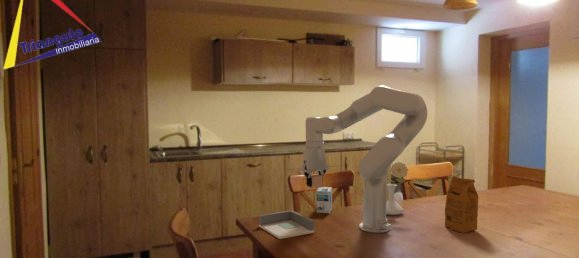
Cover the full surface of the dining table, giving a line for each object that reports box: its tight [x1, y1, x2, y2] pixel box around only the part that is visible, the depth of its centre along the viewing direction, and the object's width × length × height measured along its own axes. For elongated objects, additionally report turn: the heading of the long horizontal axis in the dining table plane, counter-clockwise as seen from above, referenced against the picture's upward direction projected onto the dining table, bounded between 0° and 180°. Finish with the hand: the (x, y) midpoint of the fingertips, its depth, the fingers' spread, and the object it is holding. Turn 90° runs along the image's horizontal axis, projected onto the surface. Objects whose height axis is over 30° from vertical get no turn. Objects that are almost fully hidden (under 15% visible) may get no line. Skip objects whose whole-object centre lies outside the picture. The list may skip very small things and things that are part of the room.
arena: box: [258, 209, 315, 240], centre depth 168 cm, size 18×16×5 cm
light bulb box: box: [316, 186, 333, 214], centre depth 198 cm, size 11×7×11 cm, turn 168°
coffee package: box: [444, 174, 479, 234], centre depth 168 cm, size 10×12×22 cm
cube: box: [306, 173, 324, 189], centre depth 179 cm, size 5×5×5 cm
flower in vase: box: [386, 161, 409, 216], centre depth 191 cm, size 13×11×25 cm
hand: (314, 185), depth 179 cm, fingers closed on cube, 5 cm apart
